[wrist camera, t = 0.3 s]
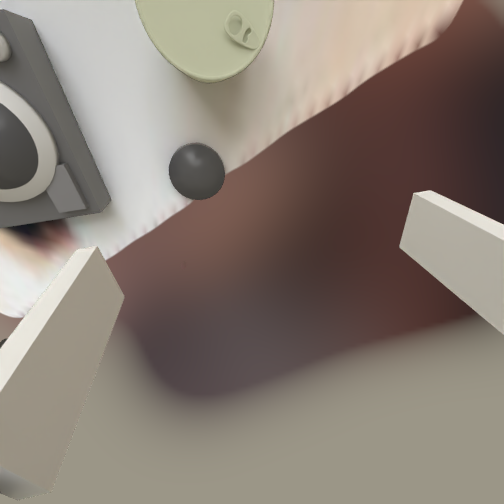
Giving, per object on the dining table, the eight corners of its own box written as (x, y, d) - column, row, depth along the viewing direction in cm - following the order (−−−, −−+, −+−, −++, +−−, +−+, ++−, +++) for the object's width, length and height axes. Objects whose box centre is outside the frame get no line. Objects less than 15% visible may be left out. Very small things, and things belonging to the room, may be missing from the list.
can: (221, 101, 30) (229, 109, 20) (143, 41, 26) (104, 14, 16) (267, 16, 26) (305, -26, 16) (185, -68, 22) (169, -190, 12)
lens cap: (163, 146, 32) (161, 149, 30) (218, 138, 32) (219, 140, 31) (178, 199, 36) (177, 203, 34) (227, 191, 36) (228, 195, 35)
